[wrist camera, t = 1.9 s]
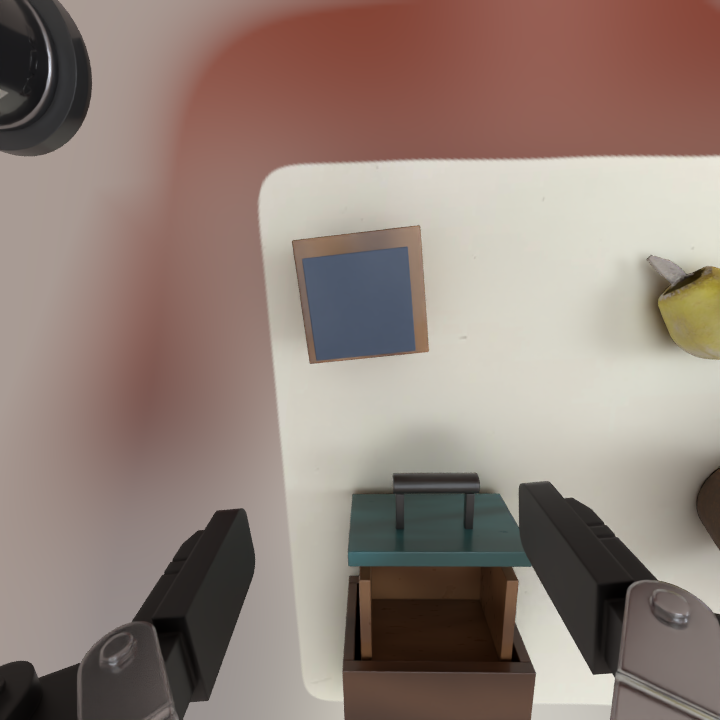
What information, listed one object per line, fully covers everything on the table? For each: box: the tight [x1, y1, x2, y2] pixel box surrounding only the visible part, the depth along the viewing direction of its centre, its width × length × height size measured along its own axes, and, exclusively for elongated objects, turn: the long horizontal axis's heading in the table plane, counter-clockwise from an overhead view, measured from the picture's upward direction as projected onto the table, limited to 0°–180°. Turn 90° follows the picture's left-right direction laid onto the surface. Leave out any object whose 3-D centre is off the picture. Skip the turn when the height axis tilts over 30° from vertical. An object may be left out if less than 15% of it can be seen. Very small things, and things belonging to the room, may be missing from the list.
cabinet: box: [343, 576, 536, 720], centre depth 32 cm, size 12×14×9 cm
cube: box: [292, 225, 429, 364], centre depth 25 cm, size 7×7×8 cm
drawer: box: [348, 473, 532, 662], centre depth 30 cm, size 15×12×7 cm
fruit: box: [647, 255, 720, 360], centre depth 26 cm, size 6×6×10 cm
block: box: [302, 246, 416, 361], centre depth 19 cm, size 5×5×5 cm
